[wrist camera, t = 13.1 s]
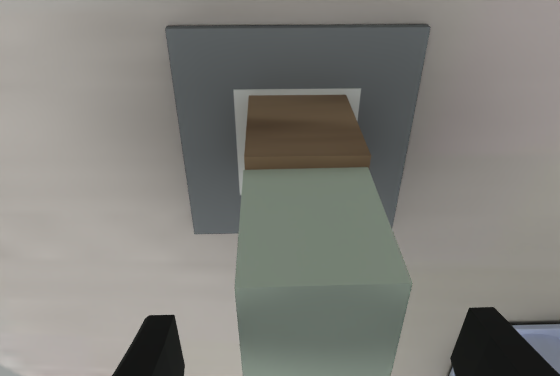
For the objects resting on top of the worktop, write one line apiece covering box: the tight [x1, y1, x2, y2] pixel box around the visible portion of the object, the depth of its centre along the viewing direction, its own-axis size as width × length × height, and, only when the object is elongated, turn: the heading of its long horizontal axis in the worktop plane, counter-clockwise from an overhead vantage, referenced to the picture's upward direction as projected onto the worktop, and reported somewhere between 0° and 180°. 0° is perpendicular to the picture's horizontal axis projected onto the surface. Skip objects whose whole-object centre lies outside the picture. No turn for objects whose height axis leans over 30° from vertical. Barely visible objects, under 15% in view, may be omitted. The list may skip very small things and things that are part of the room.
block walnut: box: [244, 95, 371, 170], centre depth 17 cm, size 4×4×5 cm
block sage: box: [235, 167, 412, 376], centre depth 13 cm, size 4×4×5 cm
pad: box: [165, 24, 430, 234], centre depth 19 cm, size 10×10×1 cm
